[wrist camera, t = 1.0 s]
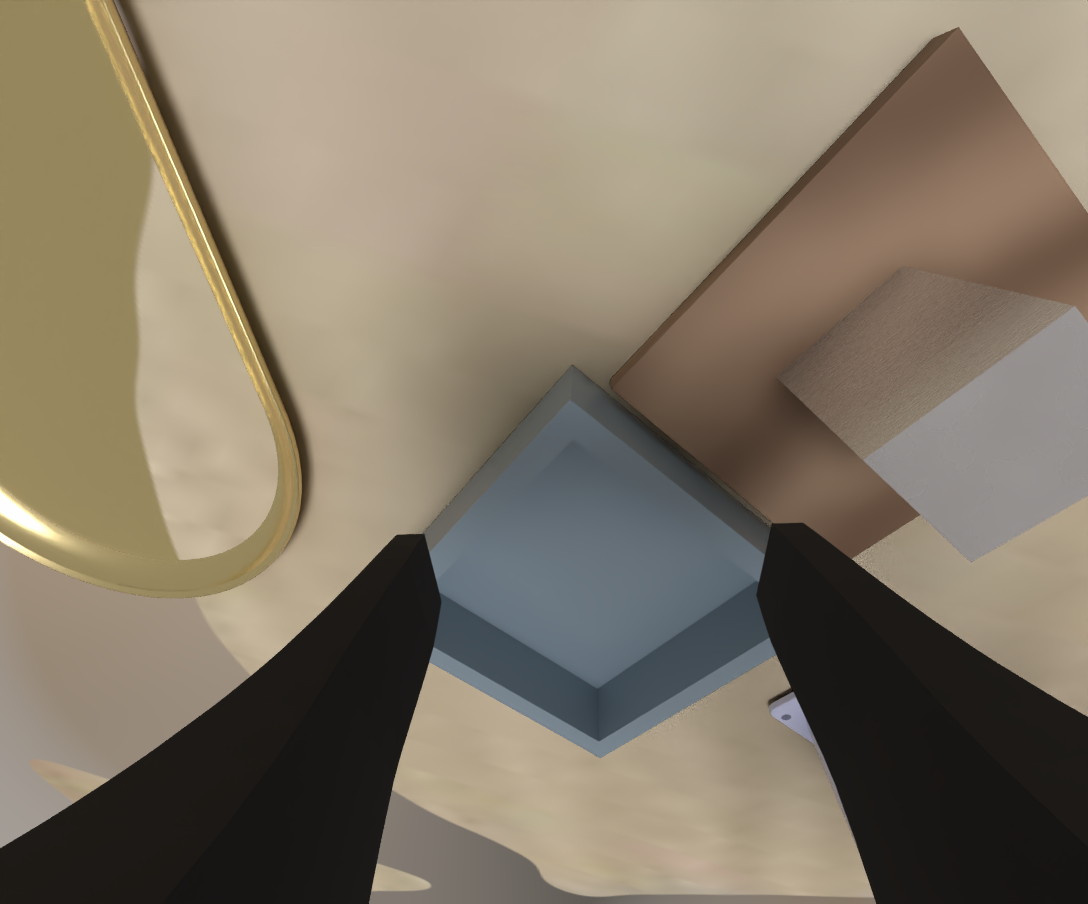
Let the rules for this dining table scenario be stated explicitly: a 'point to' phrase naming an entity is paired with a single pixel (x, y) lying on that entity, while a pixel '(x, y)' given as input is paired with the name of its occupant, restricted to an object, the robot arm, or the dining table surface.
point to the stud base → (857, 285)
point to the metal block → (958, 402)
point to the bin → (596, 574)
